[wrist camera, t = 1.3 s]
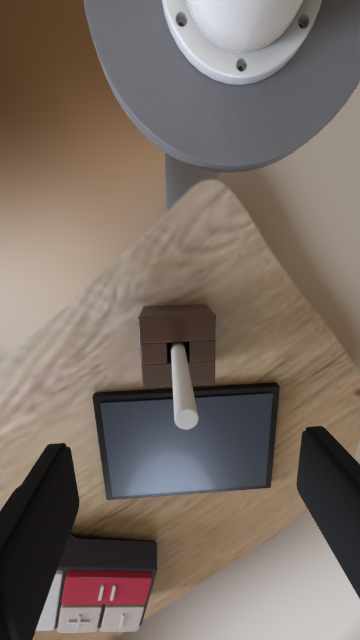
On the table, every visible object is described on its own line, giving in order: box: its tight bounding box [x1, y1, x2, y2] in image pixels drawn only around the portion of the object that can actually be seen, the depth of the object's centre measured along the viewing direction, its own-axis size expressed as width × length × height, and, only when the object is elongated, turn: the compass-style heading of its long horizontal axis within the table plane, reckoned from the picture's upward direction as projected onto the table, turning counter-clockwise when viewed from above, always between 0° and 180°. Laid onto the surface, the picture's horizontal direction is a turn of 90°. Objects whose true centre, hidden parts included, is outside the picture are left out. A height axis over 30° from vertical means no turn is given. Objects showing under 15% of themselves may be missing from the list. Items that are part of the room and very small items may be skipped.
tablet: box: [93, 383, 280, 500], centre depth 27 cm, size 14×20×1 cm
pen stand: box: [138, 305, 216, 388], centre depth 22 cm, size 6×6×4 cm
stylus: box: [171, 341, 199, 430], centre depth 18 cm, size 1×1×13 cm
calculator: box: [36, 533, 157, 633], centre depth 30 cm, size 11×4×15 cm
